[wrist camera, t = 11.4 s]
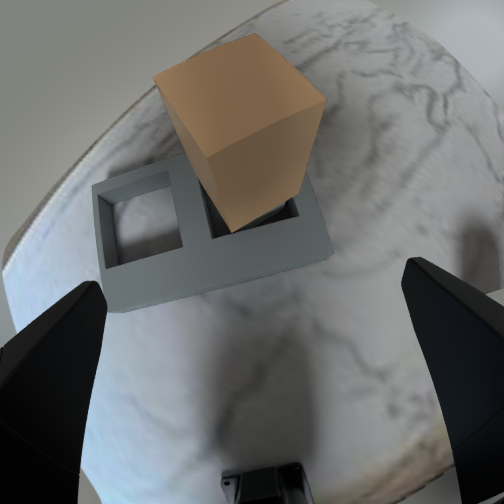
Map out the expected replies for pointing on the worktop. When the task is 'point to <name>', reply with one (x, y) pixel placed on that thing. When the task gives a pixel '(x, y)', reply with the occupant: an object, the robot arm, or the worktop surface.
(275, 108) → the plug
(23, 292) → the worktop surface
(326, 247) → the socket block
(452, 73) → the worktop surface
